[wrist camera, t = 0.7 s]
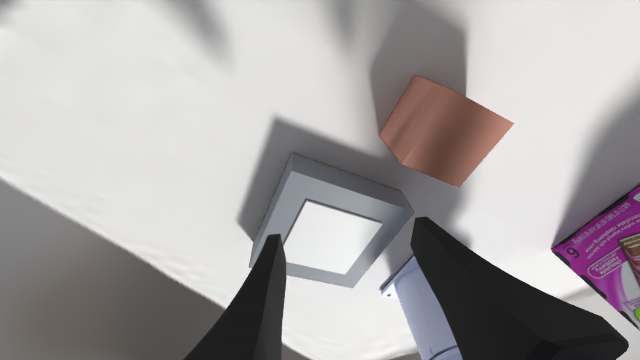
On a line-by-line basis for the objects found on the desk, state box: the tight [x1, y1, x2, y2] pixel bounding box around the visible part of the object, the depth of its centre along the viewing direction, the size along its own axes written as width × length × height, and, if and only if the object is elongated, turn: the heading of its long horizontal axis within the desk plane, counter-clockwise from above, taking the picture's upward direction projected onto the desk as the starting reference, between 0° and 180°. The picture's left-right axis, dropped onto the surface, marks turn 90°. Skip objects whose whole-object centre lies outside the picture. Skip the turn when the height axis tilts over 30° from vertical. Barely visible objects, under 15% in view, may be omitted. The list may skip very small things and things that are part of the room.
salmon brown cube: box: [379, 75, 514, 187], centre depth 17 cm, size 5×5×5 cm
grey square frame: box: [249, 153, 414, 288], centre depth 23 cm, size 11×11×3 cm
